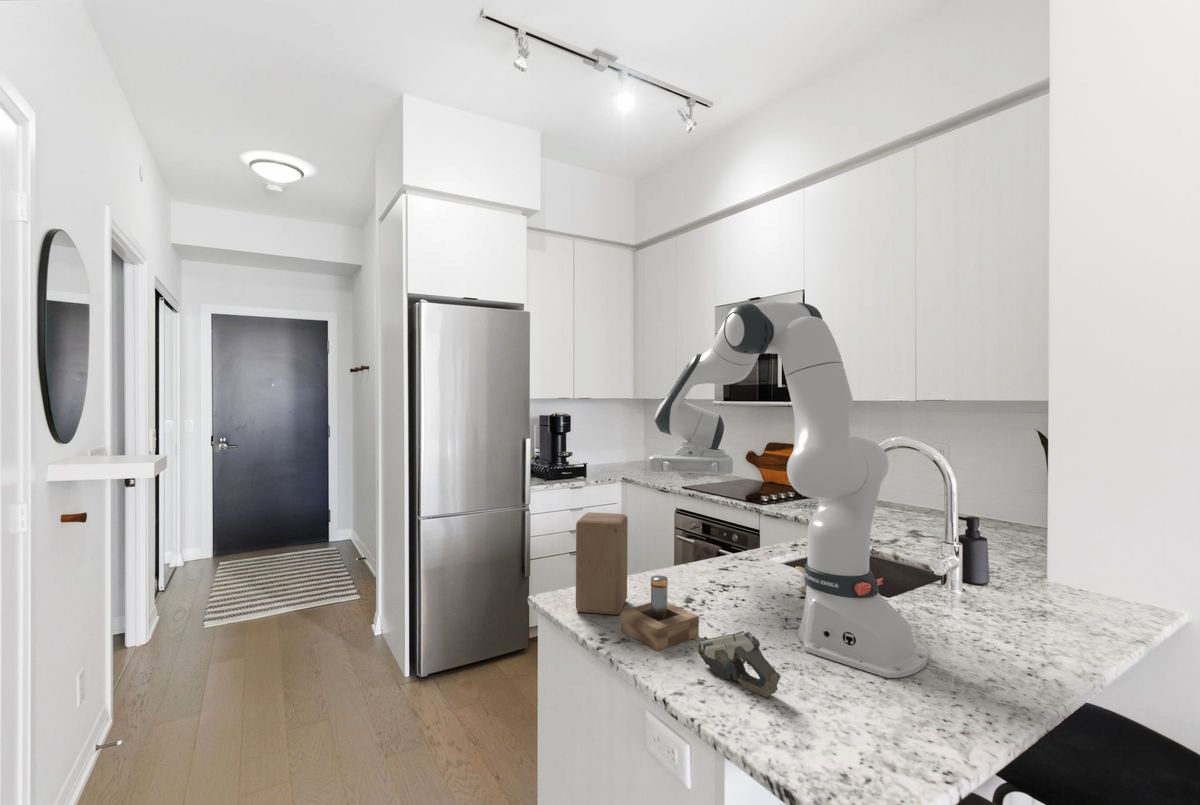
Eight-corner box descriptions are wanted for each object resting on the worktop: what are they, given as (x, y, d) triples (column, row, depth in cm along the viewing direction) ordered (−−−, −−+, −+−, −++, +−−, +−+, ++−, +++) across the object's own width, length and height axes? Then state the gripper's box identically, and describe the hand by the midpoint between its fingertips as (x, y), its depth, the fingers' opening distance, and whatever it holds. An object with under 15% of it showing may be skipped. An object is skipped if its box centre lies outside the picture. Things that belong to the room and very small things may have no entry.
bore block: (698, 636, 113) (698, 616, 113) (657, 650, 106) (657, 629, 106) (661, 618, 122) (661, 599, 121) (621, 630, 115) (621, 610, 115)
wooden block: (620, 617, 122) (620, 523, 122) (574, 613, 124) (574, 520, 124) (627, 600, 132) (628, 513, 131) (585, 596, 134) (585, 511, 133)
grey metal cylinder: (670, 632, 115) (670, 577, 114) (663, 638, 112) (663, 581, 112) (655, 628, 116) (655, 574, 116) (647, 634, 114) (648, 578, 113)
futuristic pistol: (719, 697, 100) (700, 637, 103) (786, 690, 90) (763, 624, 93) (709, 701, 99) (690, 640, 102) (777, 696, 88) (753, 628, 91)
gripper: (649, 447, 149) (645, 453, 135) (730, 449, 146) (734, 456, 132) (649, 472, 149) (645, 480, 136) (730, 474, 146) (734, 483, 132)
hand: (690, 468), depth 134 cm, fingers open, 8 cm apart
